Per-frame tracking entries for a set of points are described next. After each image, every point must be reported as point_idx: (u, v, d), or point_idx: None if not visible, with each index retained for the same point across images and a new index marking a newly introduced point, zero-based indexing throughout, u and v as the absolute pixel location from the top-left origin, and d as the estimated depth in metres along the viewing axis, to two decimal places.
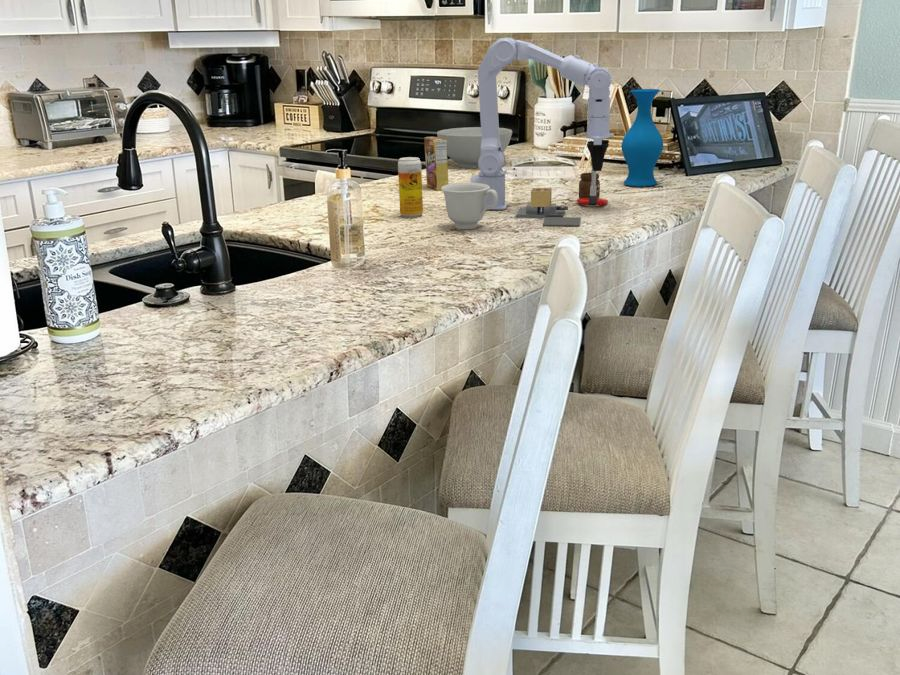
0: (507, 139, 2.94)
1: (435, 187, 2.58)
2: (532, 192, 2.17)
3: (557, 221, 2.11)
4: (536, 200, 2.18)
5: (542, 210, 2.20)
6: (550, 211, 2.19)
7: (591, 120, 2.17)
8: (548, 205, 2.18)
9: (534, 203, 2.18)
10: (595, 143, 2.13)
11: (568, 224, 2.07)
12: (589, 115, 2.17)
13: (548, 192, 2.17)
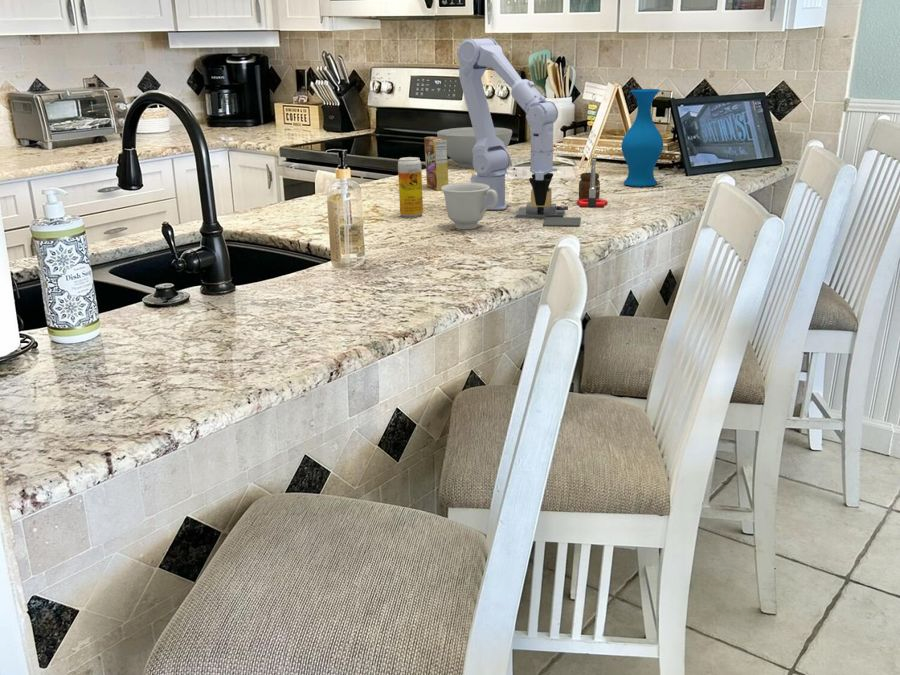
0: (507, 139, 2.94)
1: (435, 187, 2.58)
2: (532, 192, 2.17)
3: (557, 221, 2.11)
4: None
5: (542, 210, 2.20)
6: (550, 211, 2.19)
7: (534, 154, 2.14)
8: (548, 205, 2.18)
9: (534, 203, 2.18)
10: (537, 178, 2.11)
11: (568, 224, 2.07)
12: None
13: (548, 192, 2.17)
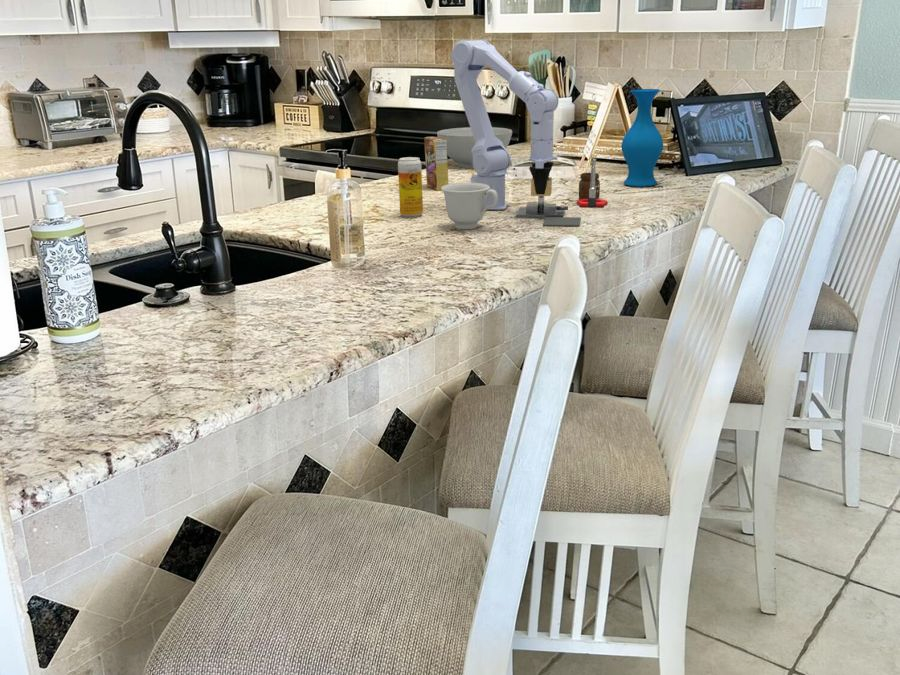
0: (507, 139, 2.94)
1: (435, 187, 2.58)
2: (532, 181, 2.16)
3: (557, 221, 2.11)
4: None
5: (542, 210, 2.20)
6: (550, 211, 2.19)
7: (534, 143, 2.13)
8: (548, 194, 2.17)
9: (534, 192, 2.17)
10: (537, 166, 2.10)
11: (568, 224, 2.07)
12: None
13: (548, 181, 2.16)
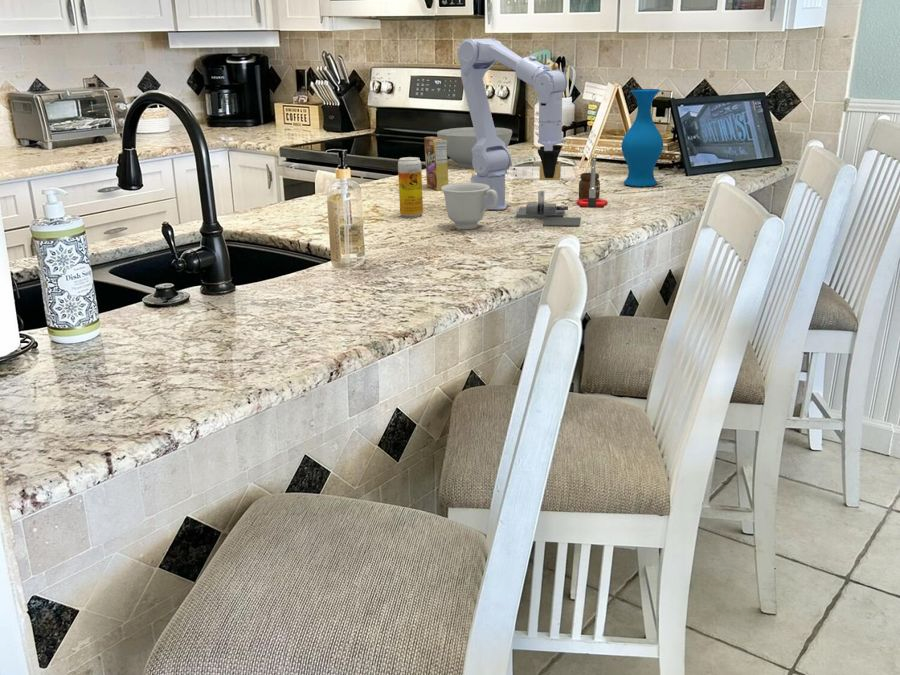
0: (507, 139, 2.94)
1: (435, 187, 2.58)
2: (541, 165, 2.11)
3: (557, 221, 2.11)
4: None
5: (542, 210, 2.20)
6: (550, 211, 2.19)
7: (542, 125, 2.08)
8: (557, 178, 2.11)
9: (543, 176, 2.12)
10: (546, 149, 2.05)
11: (568, 224, 2.07)
12: None
13: (557, 165, 2.10)
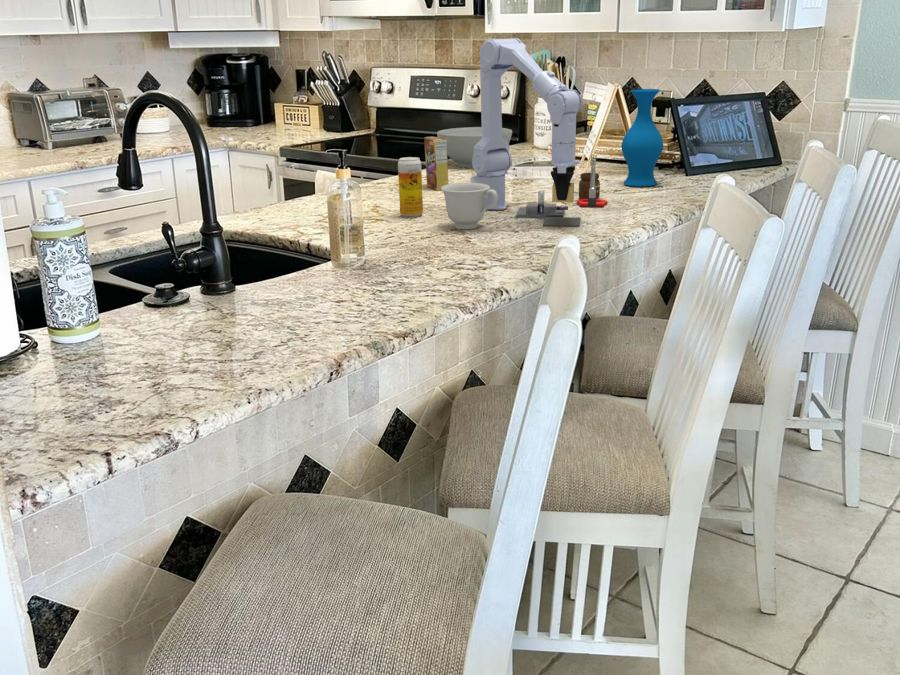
0: (507, 139, 2.94)
1: (435, 187, 2.58)
2: (554, 187, 2.06)
3: (557, 221, 2.11)
4: None
5: (542, 210, 2.20)
6: (550, 211, 2.19)
7: (555, 146, 2.03)
8: (570, 200, 2.06)
9: (556, 198, 2.07)
10: (559, 171, 2.00)
11: (568, 224, 2.07)
12: None
13: (571, 187, 2.05)
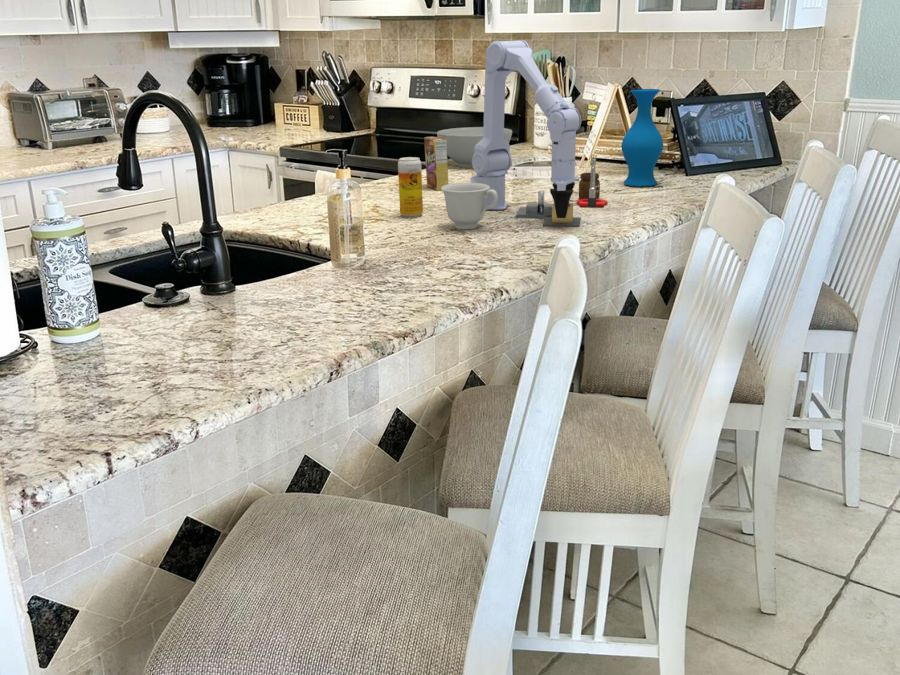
0: (507, 139, 2.94)
1: (435, 187, 2.58)
2: (553, 208, 2.08)
3: None
4: None
5: (542, 210, 2.20)
6: (550, 211, 2.19)
7: (555, 164, 2.04)
8: (570, 221, 2.08)
9: (555, 219, 2.09)
10: (558, 189, 2.01)
11: (568, 224, 2.07)
12: None
13: (570, 208, 2.07)
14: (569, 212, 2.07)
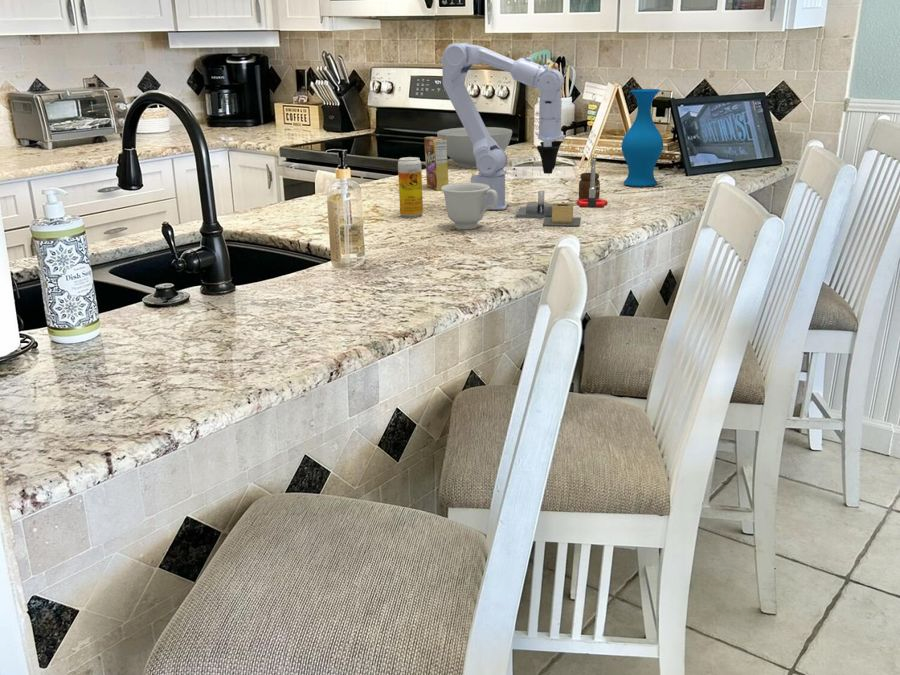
0: (507, 139, 2.94)
1: (435, 187, 2.58)
2: (553, 208, 2.08)
3: None
4: (557, 216, 2.08)
5: (542, 210, 2.20)
6: (550, 211, 2.19)
7: (542, 122, 2.17)
8: (570, 221, 2.08)
9: (555, 219, 2.09)
10: (545, 145, 2.13)
11: (568, 224, 2.07)
12: (540, 116, 2.17)
13: (570, 208, 2.07)
14: (569, 212, 2.07)
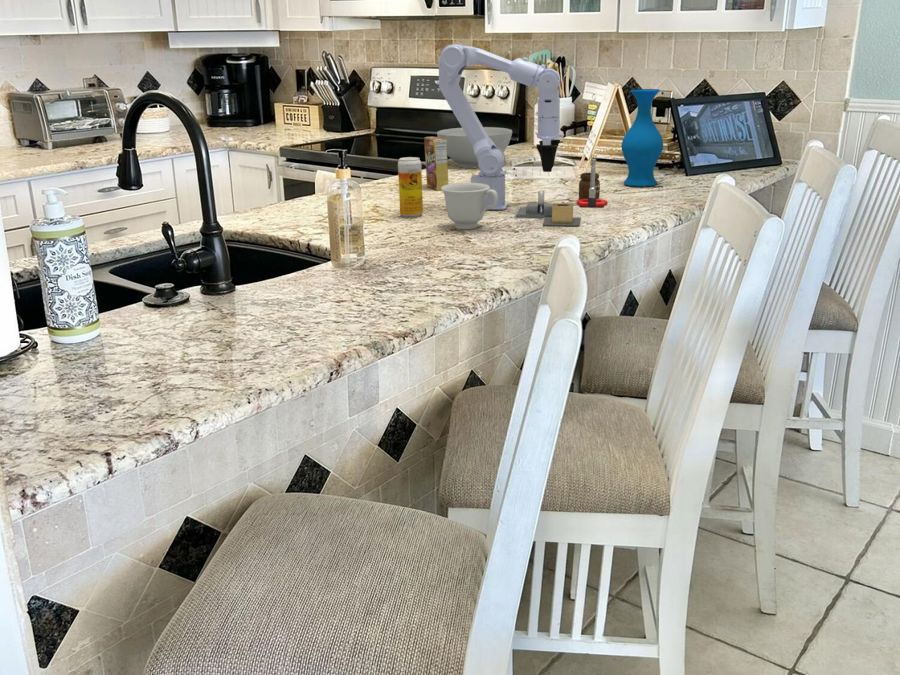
0: (507, 139, 2.94)
1: (435, 187, 2.58)
2: (553, 208, 2.08)
3: None
4: (557, 216, 2.08)
5: (542, 210, 2.20)
6: (550, 211, 2.19)
7: (541, 120, 2.19)
8: (570, 221, 2.08)
9: (555, 219, 2.09)
10: (544, 143, 2.16)
11: (568, 224, 2.07)
12: (539, 116, 2.19)
13: (570, 208, 2.07)
14: (569, 212, 2.07)
